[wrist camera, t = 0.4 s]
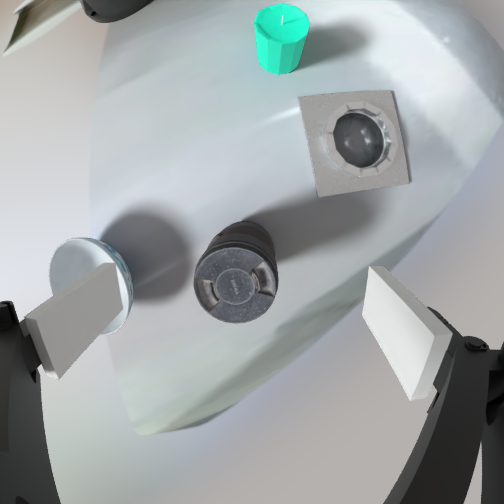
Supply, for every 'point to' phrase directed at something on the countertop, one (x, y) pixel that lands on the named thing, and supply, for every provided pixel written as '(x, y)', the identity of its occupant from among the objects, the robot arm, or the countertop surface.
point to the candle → (280, 37)
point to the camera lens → (237, 274)
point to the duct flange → (353, 141)
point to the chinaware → (83, 261)
